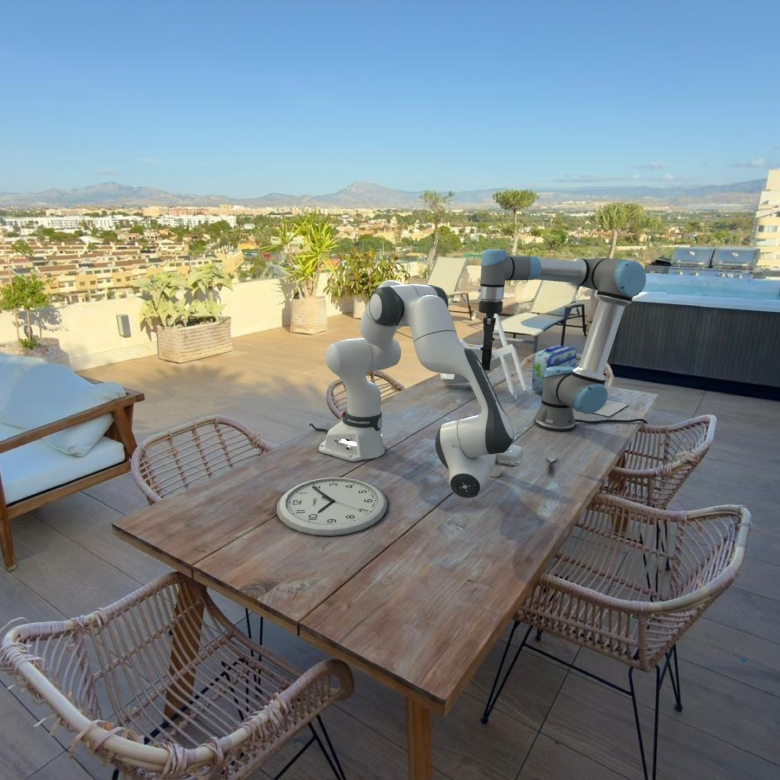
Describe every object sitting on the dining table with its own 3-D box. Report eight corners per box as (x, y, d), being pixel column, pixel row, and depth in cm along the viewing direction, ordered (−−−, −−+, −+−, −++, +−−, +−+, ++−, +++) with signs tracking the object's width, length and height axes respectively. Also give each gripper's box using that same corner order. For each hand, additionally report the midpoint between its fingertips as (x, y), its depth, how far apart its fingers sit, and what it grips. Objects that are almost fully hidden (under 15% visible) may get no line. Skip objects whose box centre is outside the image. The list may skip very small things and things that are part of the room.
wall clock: (392, 527, 129) (268, 531, 127) (391, 533, 130) (269, 537, 127) (383, 473, 158) (282, 475, 155) (383, 478, 158) (282, 480, 156)
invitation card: (608, 416, 214) (573, 407, 224) (608, 416, 214) (573, 408, 224) (628, 404, 229) (594, 396, 238) (628, 405, 229) (594, 397, 238)
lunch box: (548, 398, 236) (553, 353, 229) (527, 393, 243) (531, 349, 237) (575, 387, 253) (581, 344, 247) (555, 382, 260) (560, 341, 254)
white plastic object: (461, 429, 252) (437, 405, 227) (444, 352, 274) (420, 323, 250) (535, 404, 240) (518, 377, 215) (510, 326, 262) (492, 293, 237)
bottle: (493, 478, 160) (498, 418, 154) (482, 472, 164) (486, 414, 158) (503, 474, 163) (508, 415, 157) (492, 468, 166) (497, 411, 160)
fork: (544, 474, 162) (545, 469, 162) (548, 455, 177) (548, 449, 176) (553, 476, 161) (554, 470, 161) (556, 456, 176) (557, 450, 175)
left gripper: (521, 455, 130) (527, 435, 142) (441, 441, 137) (454, 423, 149) (518, 477, 132) (525, 456, 144) (440, 463, 139) (453, 444, 151)
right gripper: (481, 294, 178) (476, 355, 184) (476, 304, 155) (472, 373, 161) (503, 295, 176) (498, 356, 183) (502, 306, 153) (497, 375, 159)
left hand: (488, 439), depth 147 cm, fingers open, 8 cm apart
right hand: (486, 365), depth 172 cm, fingers open, 13 cm apart
